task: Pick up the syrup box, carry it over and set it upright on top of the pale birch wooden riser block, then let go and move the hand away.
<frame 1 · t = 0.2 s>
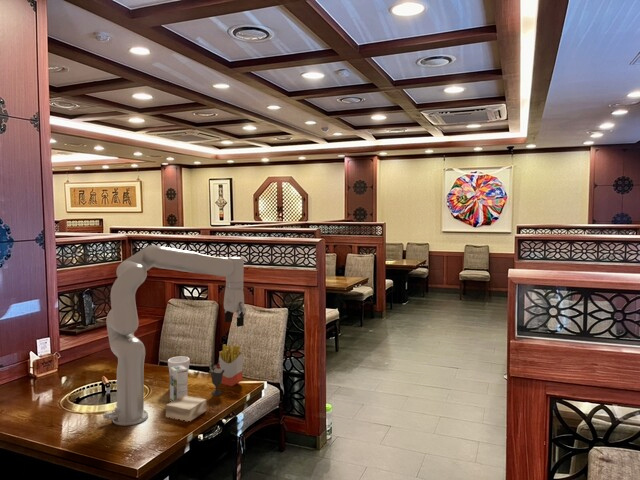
hand: (234, 323, 205), 31 cm above the table, tool pointing down, fingers open, 9 cm apart
sundae: (216, 393, 206), on the table
syrup box: (178, 402, 196), on the table
riser block: (186, 414, 185), on the table
foam cup: (178, 388, 212), on the table
french fries container: (229, 384, 218), on the table
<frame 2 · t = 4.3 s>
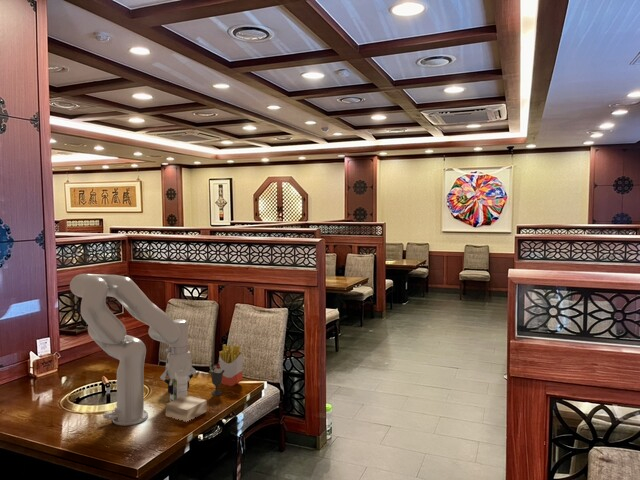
hand: (178, 391, 196), 4 cm above the table, tool pointing down, fingers closed on syrup box, 5 cm apart
syrup box: (178, 402, 196), on the table, touching gripper
everything else where it was.
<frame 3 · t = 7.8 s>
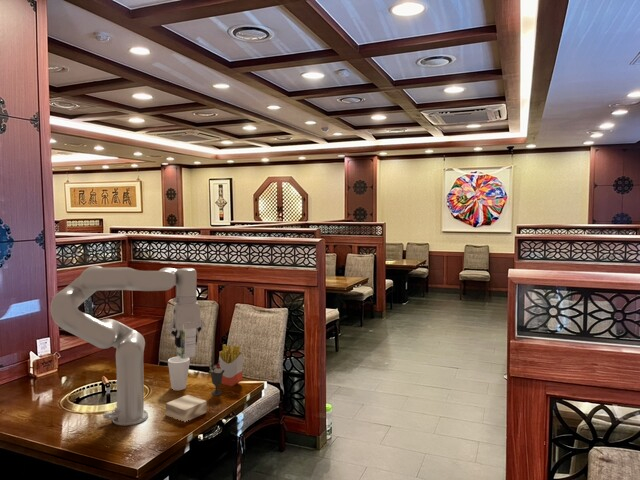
hand: (186, 345, 184), 27 cm above the table, tool pointing down, fingers closed on syrup box, 5 cm apart
syrup box: (186, 356, 184), point 23 cm above the table, touching gripper
everything else where it was.
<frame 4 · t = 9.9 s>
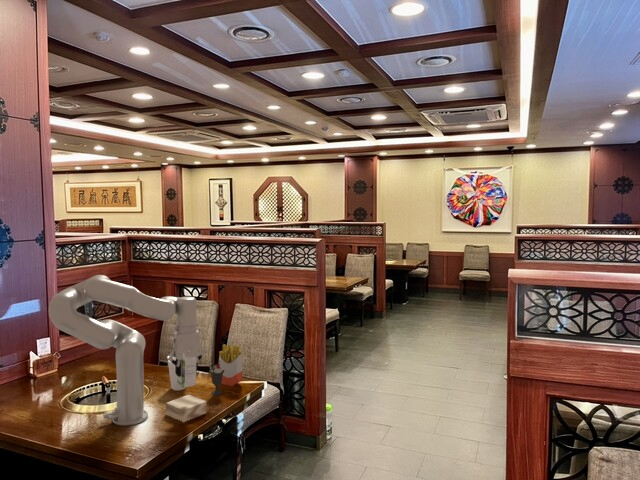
hand: (186, 373, 184), 16 cm above the table, tool pointing down, fingers closed on syrup box, 5 cm apart
syrup box: (186, 384, 184), point 12 cm above the table, touching gripper
when the fingers open (11 cm above the table, at t = 11.4 s): syrup box drops 2 cm, point 4 cm above the table.
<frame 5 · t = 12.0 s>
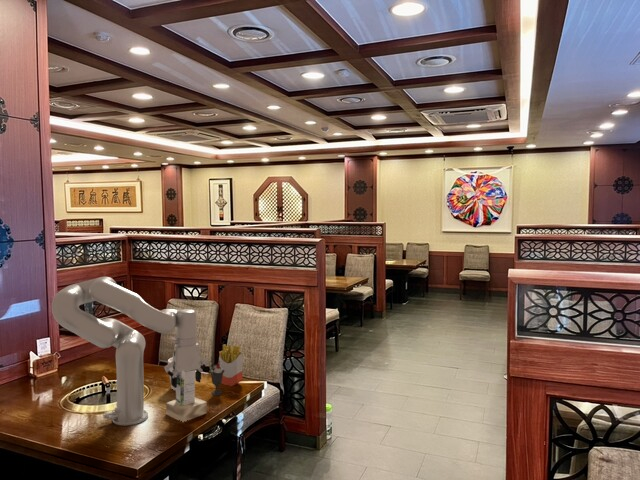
hand: (186, 384, 184), 12 cm above the table, tool pointing down, fingers open, 9 cm apart
syrup box: (185, 402, 185), point 4 cm above the table
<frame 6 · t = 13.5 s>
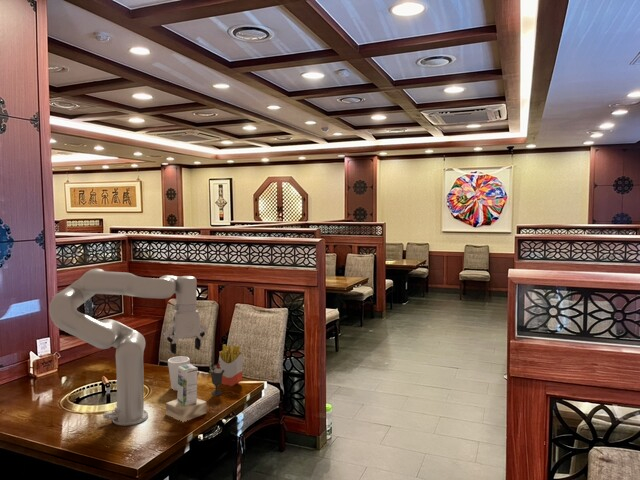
hand: (185, 351, 183), 25 cm above the table, tool pointing down, fingers open, 9 cm apart
syrup box: (187, 402, 184), point 5 cm above the table, touching riser block
riser block: (186, 414, 185), on the table, touching syrup box
everything else where it was.
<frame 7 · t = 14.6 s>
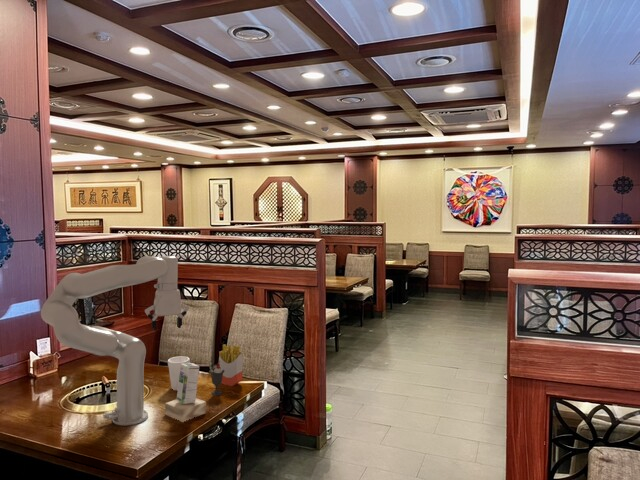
hand: (166, 328, 189), 32 cm above the table, tool pointing down, fingers open, 9 cm apart
syrup box: (185, 402, 184), point 5 cm above the table
riser block: (185, 414, 185), on the table
everything else where it was.
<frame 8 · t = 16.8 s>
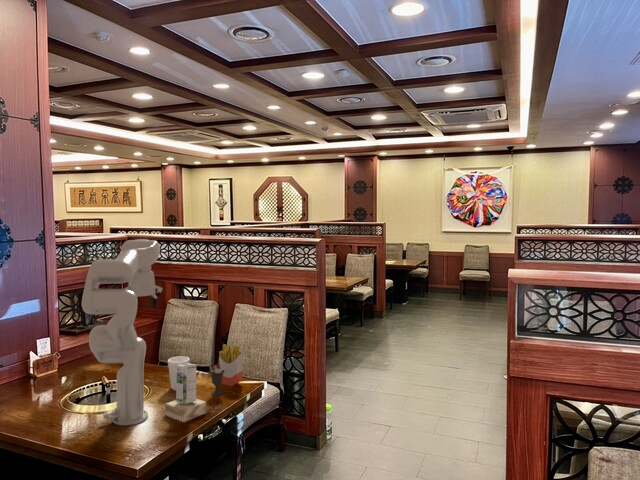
hand: (141, 309, 198), 38 cm above the table, tool pointing down, fingers open, 9 cm apart
at the end: syrup box inside the target area on the riser block (0.6 cm from its centre), point 5.4 cm above the riser block's base; syrup box tilted 8°; syrup box touching nothing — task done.
